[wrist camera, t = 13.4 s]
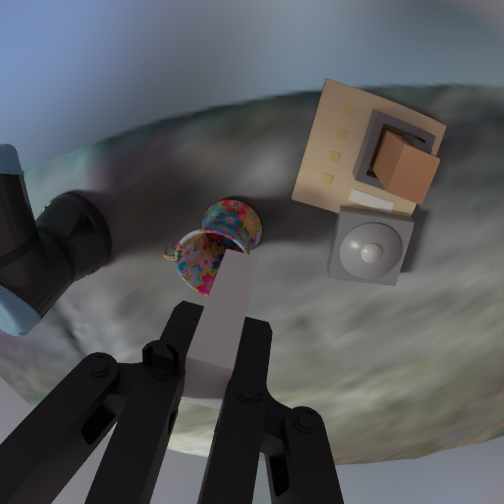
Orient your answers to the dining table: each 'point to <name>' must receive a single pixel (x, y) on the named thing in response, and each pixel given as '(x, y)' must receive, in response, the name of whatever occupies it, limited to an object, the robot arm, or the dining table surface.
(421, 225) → the dining table surface
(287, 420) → the robot arm
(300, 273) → the dining table surface
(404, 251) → the grey domed square block
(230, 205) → the mug
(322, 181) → the board
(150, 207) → the dining table surface
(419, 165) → the plug
